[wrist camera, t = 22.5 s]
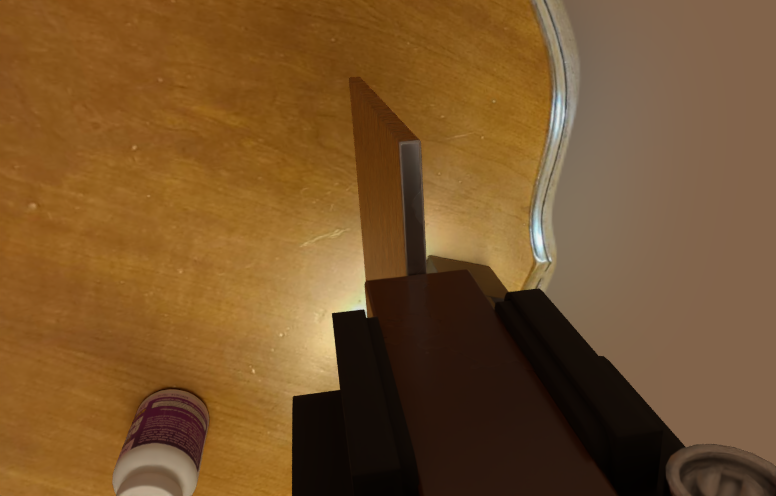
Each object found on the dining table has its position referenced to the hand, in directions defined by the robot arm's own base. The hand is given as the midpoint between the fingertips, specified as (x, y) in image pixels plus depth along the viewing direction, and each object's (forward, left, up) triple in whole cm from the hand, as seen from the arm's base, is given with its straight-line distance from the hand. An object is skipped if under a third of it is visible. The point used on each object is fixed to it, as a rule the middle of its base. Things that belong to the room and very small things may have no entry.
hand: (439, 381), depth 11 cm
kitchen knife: (0, 0, -13) cm, 13 cm away
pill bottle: (+22, -14, -33) cm, 42 cm away
